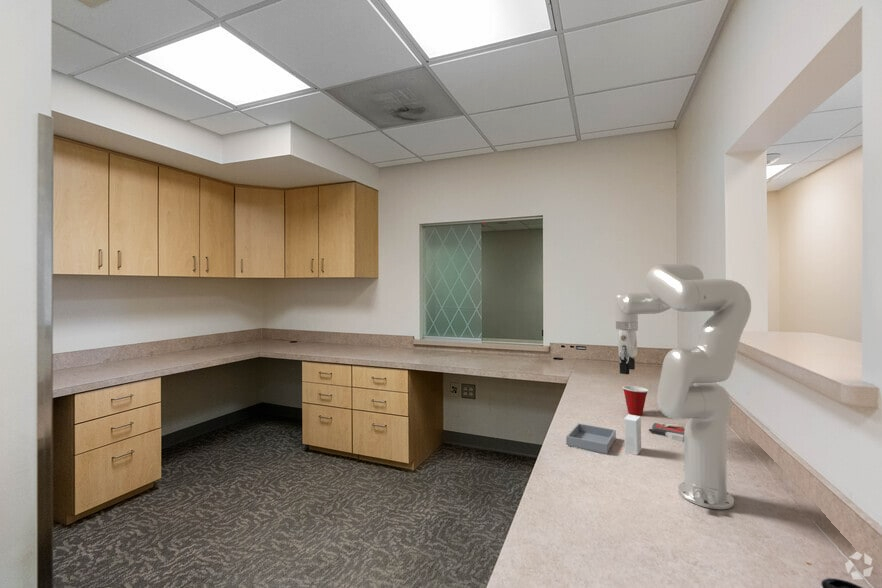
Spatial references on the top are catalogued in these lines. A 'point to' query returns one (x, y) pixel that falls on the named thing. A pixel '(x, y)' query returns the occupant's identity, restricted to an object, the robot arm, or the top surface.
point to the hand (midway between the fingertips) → (627, 371)
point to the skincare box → (632, 434)
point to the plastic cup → (635, 399)
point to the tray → (591, 438)
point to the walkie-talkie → (669, 431)
